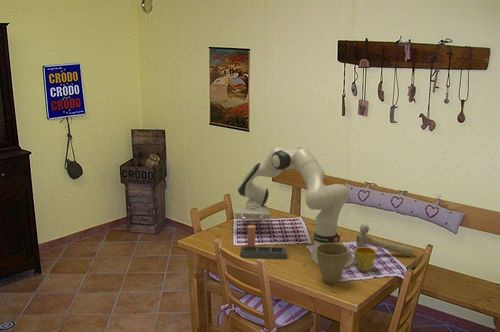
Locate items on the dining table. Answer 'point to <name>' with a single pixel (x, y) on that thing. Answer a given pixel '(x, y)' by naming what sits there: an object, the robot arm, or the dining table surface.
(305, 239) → the dining table surface
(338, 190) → the robot arm
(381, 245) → the hammer
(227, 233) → the dining table surface
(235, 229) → the dining table surface
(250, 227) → the peg
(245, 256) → the grey slotted tray
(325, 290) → the dining table surface
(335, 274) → the plant pot
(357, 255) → the plant pot
